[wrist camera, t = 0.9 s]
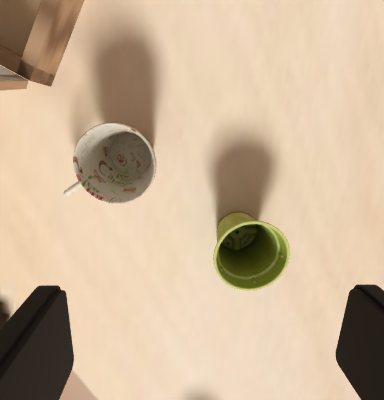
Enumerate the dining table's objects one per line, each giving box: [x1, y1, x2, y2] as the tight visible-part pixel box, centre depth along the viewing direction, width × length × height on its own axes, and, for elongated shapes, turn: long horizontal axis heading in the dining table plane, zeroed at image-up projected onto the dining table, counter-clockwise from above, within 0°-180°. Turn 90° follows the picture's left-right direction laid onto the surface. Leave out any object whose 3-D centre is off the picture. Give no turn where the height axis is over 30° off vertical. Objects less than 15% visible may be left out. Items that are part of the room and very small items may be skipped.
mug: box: [64, 123, 156, 204], centre depth 32 cm, size 8×13×10 cm, turn 123°
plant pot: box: [213, 212, 290, 291], centre depth 37 cm, size 9×9×9 cm
